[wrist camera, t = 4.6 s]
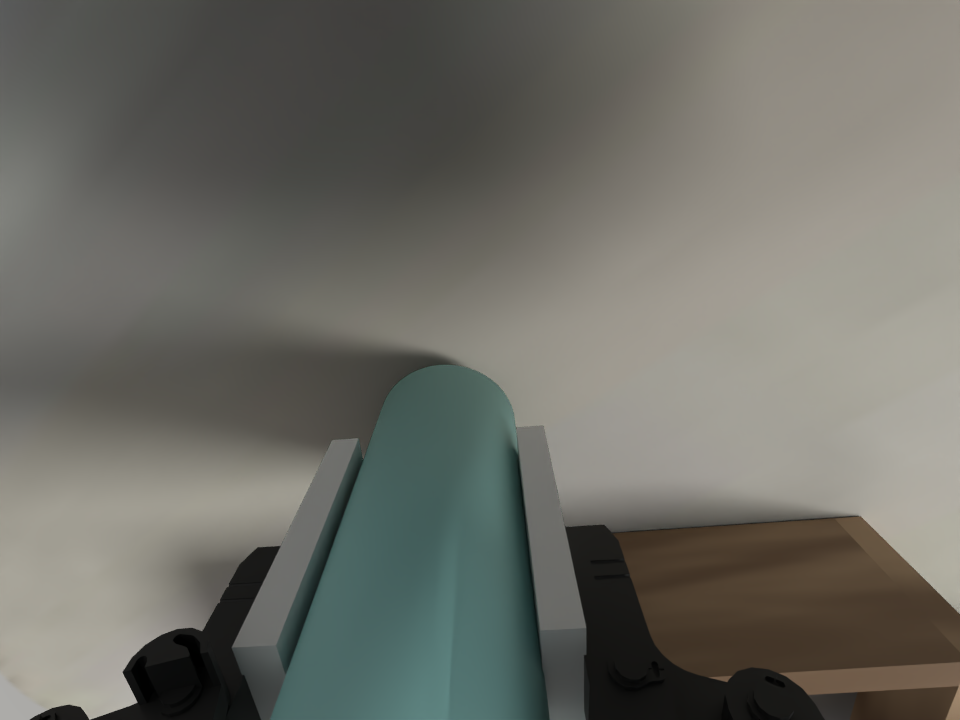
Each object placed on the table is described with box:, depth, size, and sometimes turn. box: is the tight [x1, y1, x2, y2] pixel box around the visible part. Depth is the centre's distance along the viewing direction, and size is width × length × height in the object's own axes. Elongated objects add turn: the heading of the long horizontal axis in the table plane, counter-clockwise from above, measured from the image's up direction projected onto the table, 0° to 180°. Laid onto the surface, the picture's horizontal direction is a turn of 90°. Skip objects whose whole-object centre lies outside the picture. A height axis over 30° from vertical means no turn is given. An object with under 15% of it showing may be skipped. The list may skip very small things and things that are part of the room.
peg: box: [270, 365, 550, 720], centre depth 11 cm, size 4×4×14 cm
